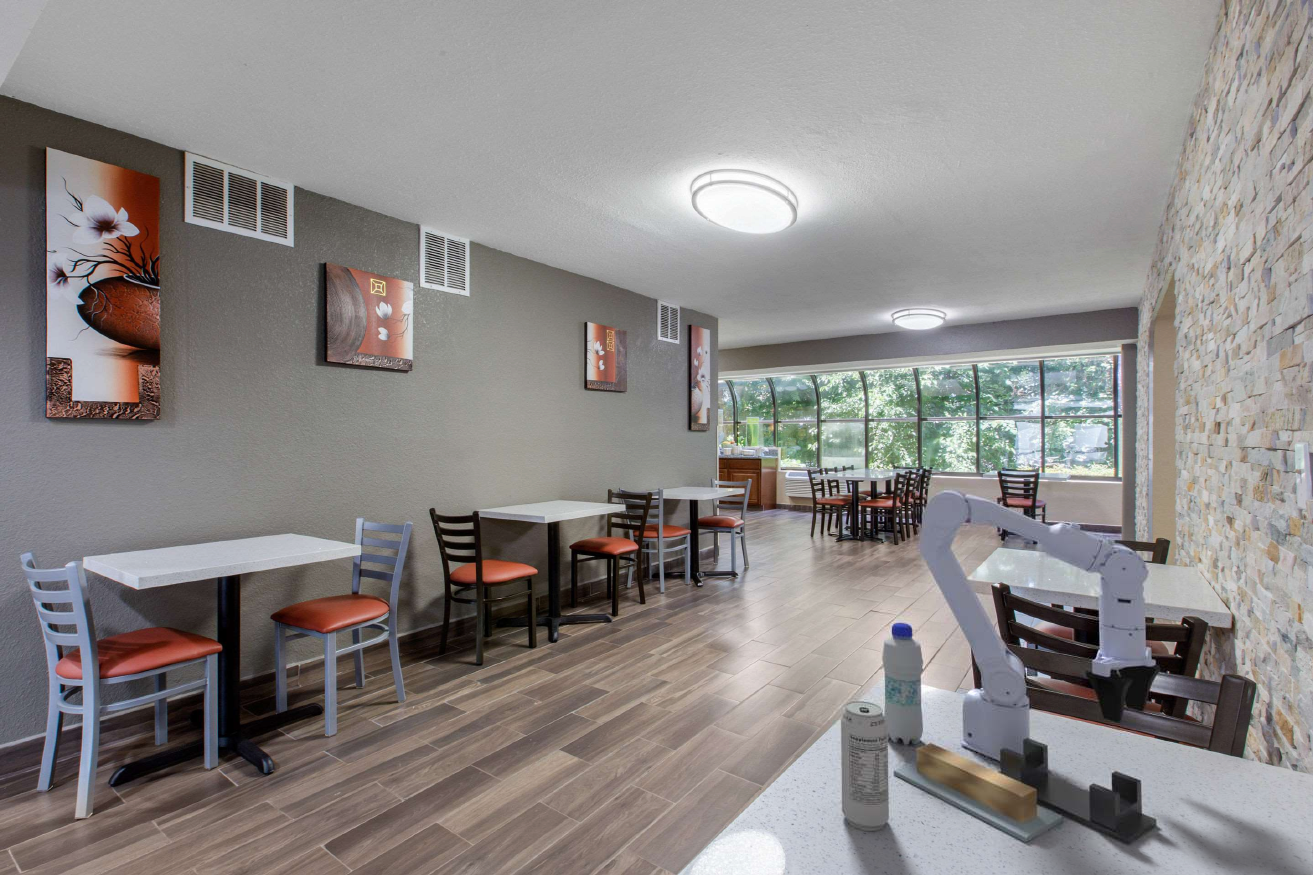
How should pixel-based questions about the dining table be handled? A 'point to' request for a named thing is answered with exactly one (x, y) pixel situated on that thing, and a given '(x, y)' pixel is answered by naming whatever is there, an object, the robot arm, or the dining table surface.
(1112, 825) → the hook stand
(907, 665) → the bottle
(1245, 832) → the dining table surface
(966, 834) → the dining table surface
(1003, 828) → the mat
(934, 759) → the oak rail
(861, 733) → the energy drink can
